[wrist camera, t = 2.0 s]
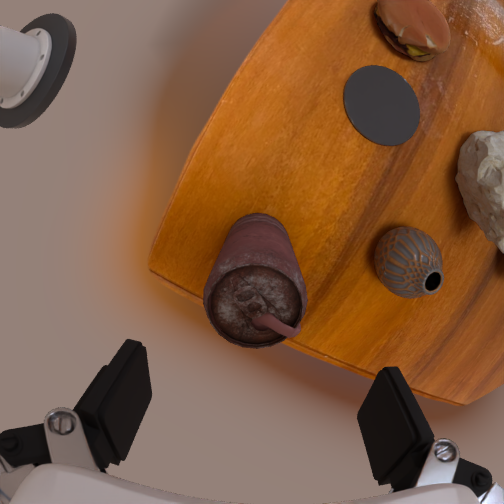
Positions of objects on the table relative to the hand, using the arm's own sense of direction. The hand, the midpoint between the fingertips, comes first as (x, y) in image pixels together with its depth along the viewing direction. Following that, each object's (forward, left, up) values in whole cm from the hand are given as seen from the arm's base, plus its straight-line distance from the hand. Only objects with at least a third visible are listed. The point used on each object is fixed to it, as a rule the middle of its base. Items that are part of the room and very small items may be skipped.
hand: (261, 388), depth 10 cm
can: (0, 0, -20) cm, 20 cm away
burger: (+14, +28, -20) cm, 37 cm away
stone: (+28, +13, -20) cm, 37 cm away
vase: (+15, +1, -20) cm, 25 cm away
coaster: (+11, +17, -20) cm, 28 cm away
